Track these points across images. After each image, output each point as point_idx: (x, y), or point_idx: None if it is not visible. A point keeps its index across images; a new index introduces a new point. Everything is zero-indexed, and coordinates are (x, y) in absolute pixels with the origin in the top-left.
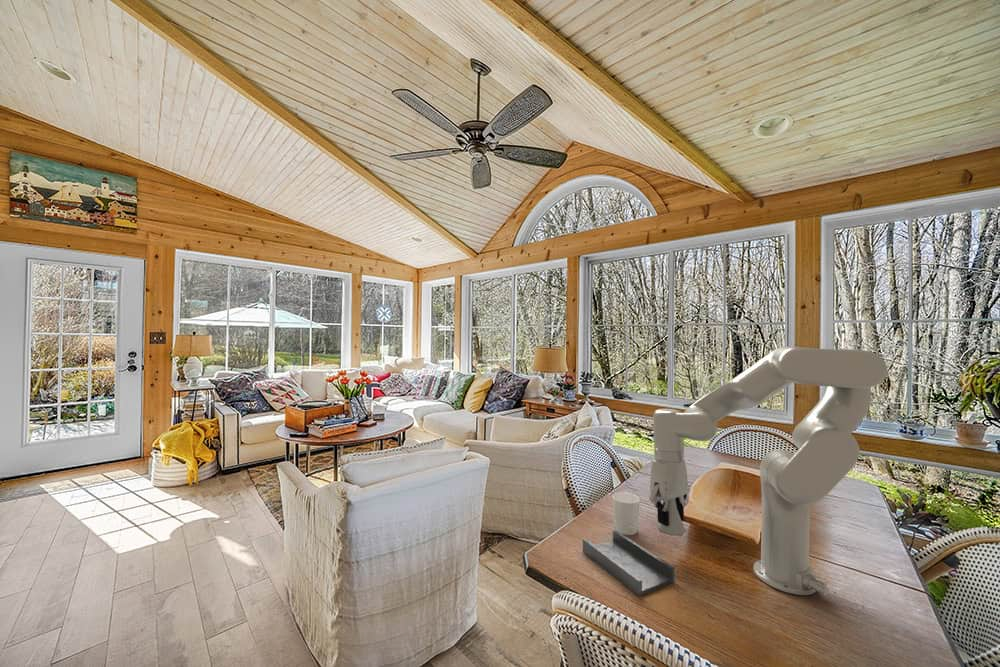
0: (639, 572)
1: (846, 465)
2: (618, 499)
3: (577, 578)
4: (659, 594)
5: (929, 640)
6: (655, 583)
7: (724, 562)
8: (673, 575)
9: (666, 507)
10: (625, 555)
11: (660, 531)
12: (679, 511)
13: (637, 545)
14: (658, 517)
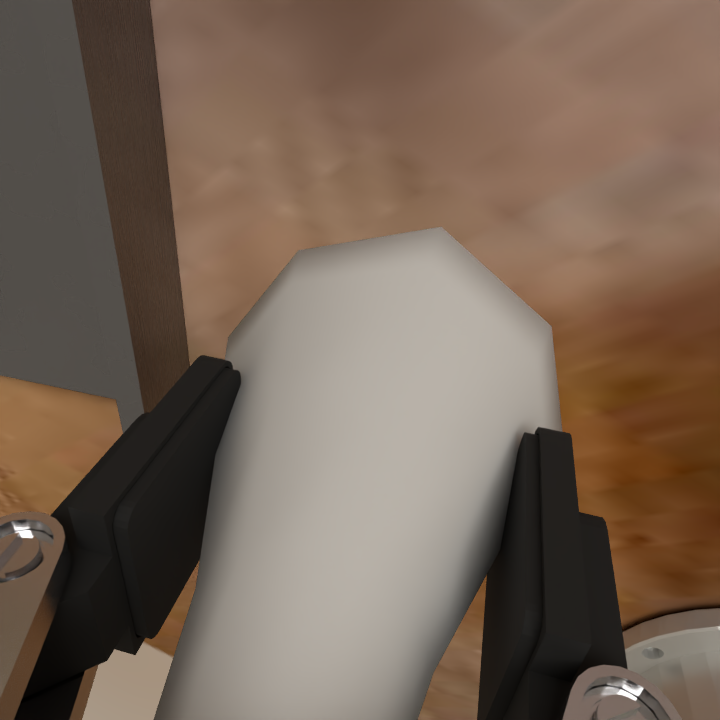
0: (11, 269)
1: None
2: None
3: None
4: (49, 393)
5: None
6: (44, 374)
7: (675, 497)
8: None
9: (68, 703)
10: (19, 65)
11: (228, 346)
12: (489, 629)
13: (78, 141)
14: (127, 435)
